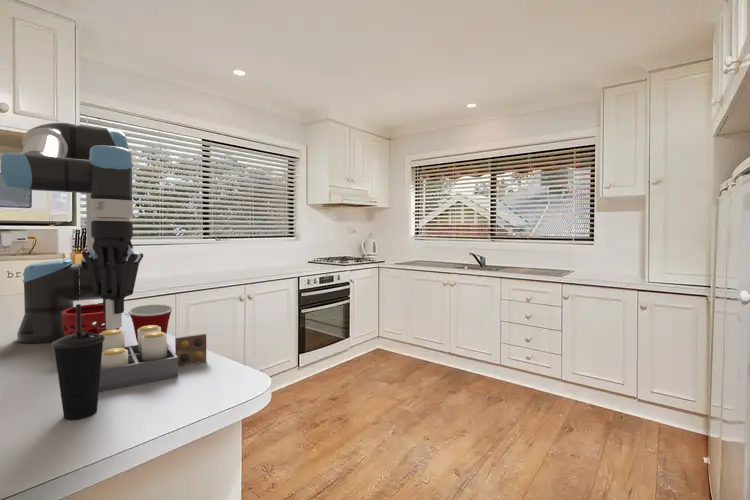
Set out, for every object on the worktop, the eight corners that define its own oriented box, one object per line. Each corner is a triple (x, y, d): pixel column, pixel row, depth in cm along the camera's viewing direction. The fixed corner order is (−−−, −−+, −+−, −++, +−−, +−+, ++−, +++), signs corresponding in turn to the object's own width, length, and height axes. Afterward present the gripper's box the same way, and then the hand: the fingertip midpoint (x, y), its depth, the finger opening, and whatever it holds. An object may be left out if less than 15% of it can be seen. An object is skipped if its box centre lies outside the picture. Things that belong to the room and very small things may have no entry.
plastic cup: (128, 359, 102) (128, 313, 102) (128, 348, 111) (127, 306, 111) (175, 353, 108) (175, 309, 108) (171, 343, 117) (171, 303, 117)
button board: (90, 370, 94) (89, 351, 94) (165, 358, 104) (165, 341, 104) (92, 392, 81) (92, 371, 81) (178, 376, 91) (178, 357, 91)
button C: (100, 373, 88) (100, 349, 87) (127, 369, 91) (126, 345, 90) (101, 380, 84) (101, 355, 83) (129, 375, 87) (129, 351, 86)
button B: (136, 348, 98) (136, 326, 98) (159, 344, 101) (159, 323, 101) (139, 353, 94) (138, 330, 94) (162, 349, 97) (162, 327, 97)
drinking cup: (72, 405, 76) (70, 300, 75) (114, 404, 76) (113, 300, 75) (42, 424, 68) (39, 308, 67) (89, 423, 69) (87, 308, 68)
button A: (98, 353, 94) (98, 330, 93) (123, 349, 97) (123, 327, 96) (99, 359, 90) (99, 335, 89) (125, 355, 93) (125, 332, 92)
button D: (140, 356, 92) (140, 333, 92) (164, 352, 95) (164, 330, 95) (143, 361, 88) (143, 337, 88) (168, 357, 91) (168, 334, 91)
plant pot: (62, 349, 110) (61, 306, 110) (119, 341, 118) (118, 301, 118) (62, 361, 100) (60, 314, 99) (123, 352, 108) (122, 308, 107)
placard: (175, 365, 98) (175, 337, 98) (205, 360, 103) (205, 333, 102) (176, 366, 97) (176, 338, 97) (206, 361, 102) (206, 334, 101)
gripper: (69, 218, 83) (72, 330, 84) (126, 220, 81) (127, 334, 82) (99, 219, 90) (101, 322, 92) (152, 221, 88) (153, 325, 90)
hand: (113, 328), depth 87 cm, fingers closed
